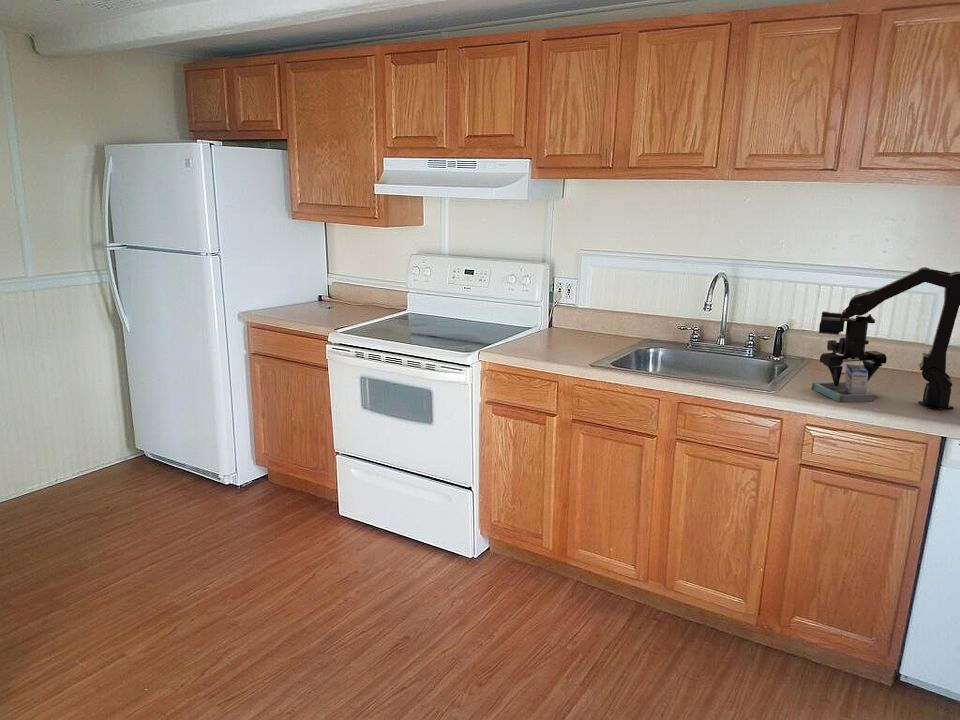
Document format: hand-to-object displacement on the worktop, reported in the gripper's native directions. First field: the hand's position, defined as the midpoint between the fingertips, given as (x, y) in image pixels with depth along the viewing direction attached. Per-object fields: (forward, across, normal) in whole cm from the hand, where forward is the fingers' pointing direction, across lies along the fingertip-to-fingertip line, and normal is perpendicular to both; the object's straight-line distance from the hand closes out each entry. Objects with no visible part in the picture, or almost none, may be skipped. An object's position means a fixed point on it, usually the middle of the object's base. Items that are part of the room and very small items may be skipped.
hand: (850, 385), depth 221 cm
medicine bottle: (+4, -16, -26) cm, 31 cm away
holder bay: (+3, +2, 0) cm, 3 cm away
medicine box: (+3, -2, 0) cm, 4 cm away
